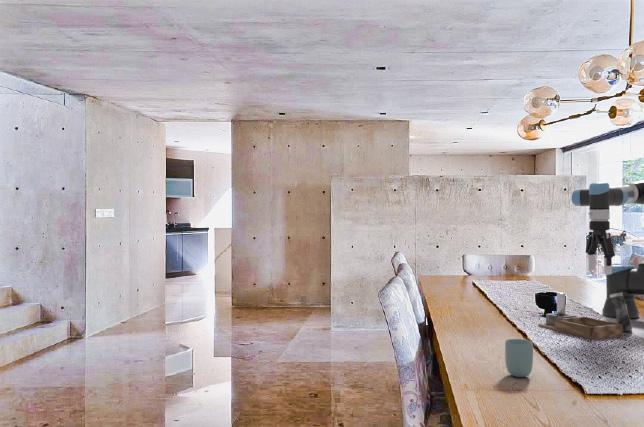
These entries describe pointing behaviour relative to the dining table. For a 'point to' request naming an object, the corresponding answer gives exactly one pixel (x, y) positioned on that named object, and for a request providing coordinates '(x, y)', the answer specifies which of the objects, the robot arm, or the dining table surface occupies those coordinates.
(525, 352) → the cup
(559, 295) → the rod
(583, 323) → the board
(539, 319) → the dining table surface
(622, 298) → the stone block
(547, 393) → the dining table surface
